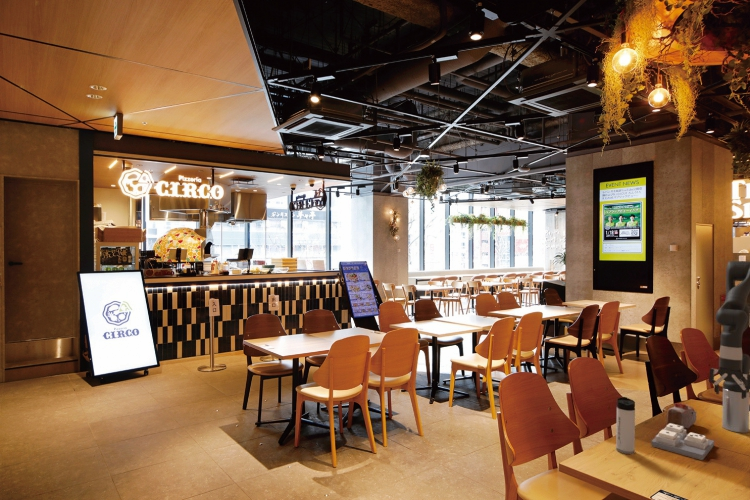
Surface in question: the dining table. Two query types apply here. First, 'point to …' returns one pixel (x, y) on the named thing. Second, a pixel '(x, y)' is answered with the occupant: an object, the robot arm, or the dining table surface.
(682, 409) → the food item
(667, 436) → the button one
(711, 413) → the dining table surface
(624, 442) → the travel mug
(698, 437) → the button three
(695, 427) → the dining table surface
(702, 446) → the button board
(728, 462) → the dining table surface
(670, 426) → the button two
